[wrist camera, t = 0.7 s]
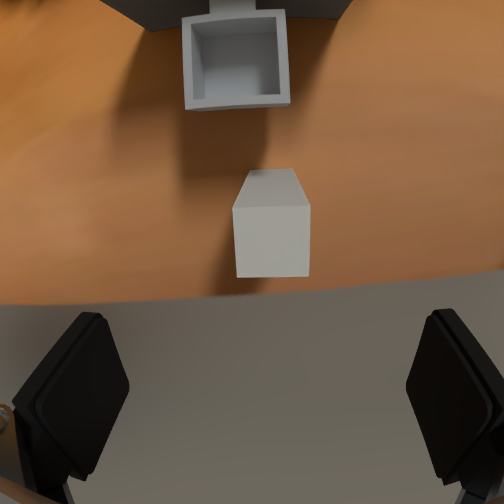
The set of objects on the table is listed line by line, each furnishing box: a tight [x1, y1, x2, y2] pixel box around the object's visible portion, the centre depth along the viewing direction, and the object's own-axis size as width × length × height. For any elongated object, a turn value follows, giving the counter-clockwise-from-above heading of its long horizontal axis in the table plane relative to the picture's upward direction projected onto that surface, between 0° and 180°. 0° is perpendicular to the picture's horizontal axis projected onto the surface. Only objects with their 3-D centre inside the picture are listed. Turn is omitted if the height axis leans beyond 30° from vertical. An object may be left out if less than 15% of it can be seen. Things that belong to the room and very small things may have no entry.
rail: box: [232, 169, 310, 278], centre depth 23 cm, size 4×4×14 cm
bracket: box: [100, 0, 352, 112], centre depth 19 cm, size 18×16×12 cm
